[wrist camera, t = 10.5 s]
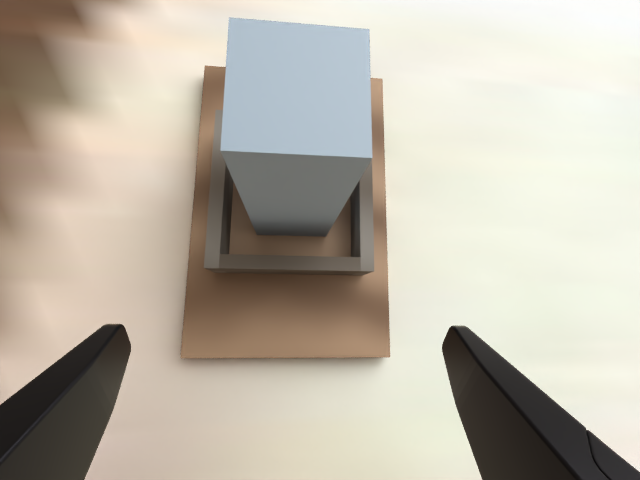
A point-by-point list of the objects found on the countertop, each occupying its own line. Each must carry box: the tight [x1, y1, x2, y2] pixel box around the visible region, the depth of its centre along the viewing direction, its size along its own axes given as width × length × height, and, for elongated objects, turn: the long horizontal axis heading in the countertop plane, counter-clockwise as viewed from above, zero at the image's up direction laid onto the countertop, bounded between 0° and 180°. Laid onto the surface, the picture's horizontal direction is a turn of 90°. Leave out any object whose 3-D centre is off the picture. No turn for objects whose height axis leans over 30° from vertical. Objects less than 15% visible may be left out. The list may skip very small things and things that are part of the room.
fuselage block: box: [220, 17, 372, 237], centre depth 17 cm, size 5×5×12 cm
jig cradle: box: [181, 66, 390, 358], centre depth 22 cm, size 20×13×4 cm, turn 179°
